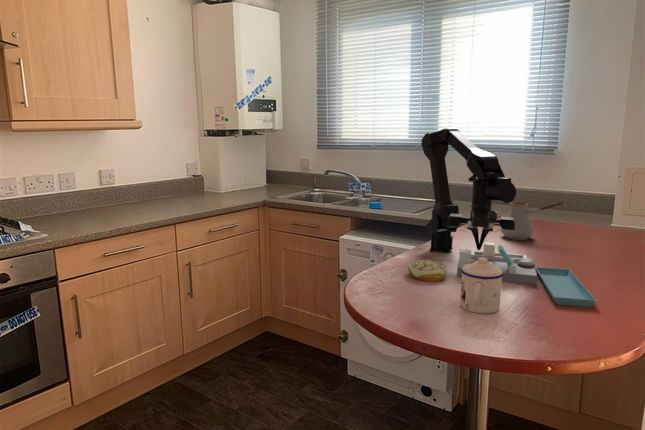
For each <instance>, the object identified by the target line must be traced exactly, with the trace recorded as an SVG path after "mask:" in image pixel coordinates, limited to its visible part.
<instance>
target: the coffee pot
mask: <svg viewBox="0 0 645 430" xmlns="http://www.w3.org/2000/svg"><path fill="white" fill-rule="evenodd" d="M509 205H510V208H511V209H510V211H509V212H508V214H507V216H506V217H513V218H514V219H515V230H505V229H502V228H501V227H500V231H501V232H500V233H502V235H503V236H504V237H505V238H506V239H509V240H516V241H527V240H528V239H529V238H531V237H532V236H533V234H534V227H533V225H532V222H531V219H530V217H529V214H532V213H535V212H538V211H543V210H548V209H552V208H555V207H558V206H560V205H564V207H565V208H567V203H566V202H565V201H560V202H556V203H551V204H548V205H545V206H544V205H543V206H541V207H539V208H538V207H537V208H535V209H532V210H531V209H530V210H527V207H528V206H529V203H525V202H510V203H509Z"/></svg>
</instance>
